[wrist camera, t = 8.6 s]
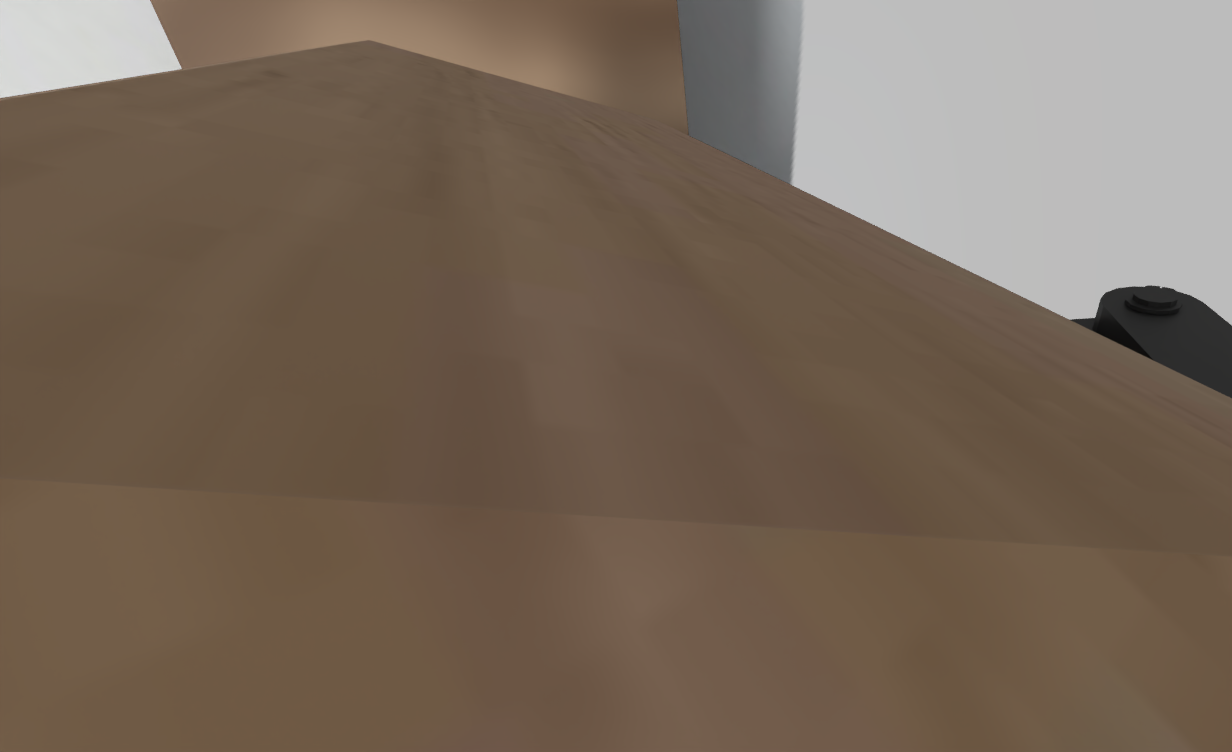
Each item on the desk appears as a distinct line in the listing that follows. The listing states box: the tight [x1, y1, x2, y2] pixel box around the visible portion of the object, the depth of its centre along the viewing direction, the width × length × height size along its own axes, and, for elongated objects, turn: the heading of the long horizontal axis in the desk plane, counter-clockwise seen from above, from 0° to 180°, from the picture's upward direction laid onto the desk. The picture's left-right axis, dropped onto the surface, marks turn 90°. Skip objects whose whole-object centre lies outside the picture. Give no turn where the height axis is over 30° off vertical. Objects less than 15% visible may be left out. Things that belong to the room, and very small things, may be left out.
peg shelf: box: [150, 0, 689, 135], centre depth 28 cm, size 18×18×6 cm
